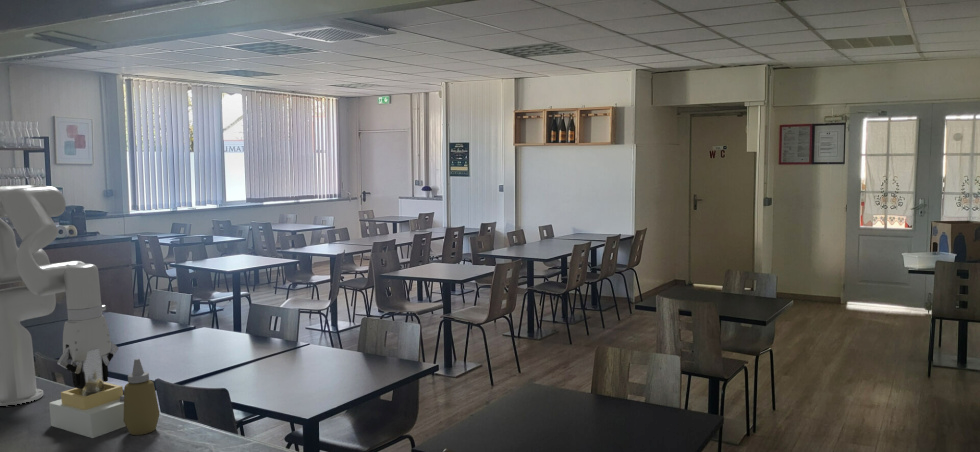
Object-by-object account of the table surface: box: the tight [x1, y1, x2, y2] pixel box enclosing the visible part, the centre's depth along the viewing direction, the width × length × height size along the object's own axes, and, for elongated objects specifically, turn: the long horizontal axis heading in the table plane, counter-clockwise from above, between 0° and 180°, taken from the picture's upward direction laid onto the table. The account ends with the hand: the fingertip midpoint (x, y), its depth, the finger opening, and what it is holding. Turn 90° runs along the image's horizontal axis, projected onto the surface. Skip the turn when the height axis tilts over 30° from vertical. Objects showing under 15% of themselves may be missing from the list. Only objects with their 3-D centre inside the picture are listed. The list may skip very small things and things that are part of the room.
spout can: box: [79, 348, 104, 396], centre depth 185 cm, size 6×6×14 cm
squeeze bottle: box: [123, 358, 161, 436], centre depth 180 cm, size 8×8×18 cm
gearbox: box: [48, 381, 126, 439], centre depth 187 cm, size 18×12×9 cm, turn 59°
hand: (91, 383), depth 186 cm, fingers closed on spout can, 5 cm apart
